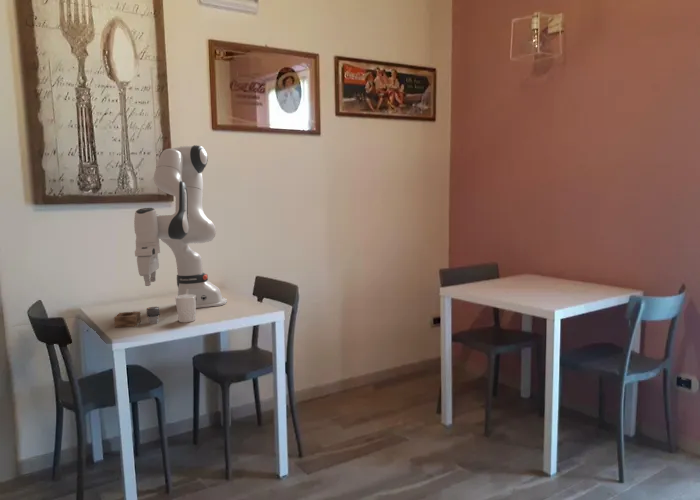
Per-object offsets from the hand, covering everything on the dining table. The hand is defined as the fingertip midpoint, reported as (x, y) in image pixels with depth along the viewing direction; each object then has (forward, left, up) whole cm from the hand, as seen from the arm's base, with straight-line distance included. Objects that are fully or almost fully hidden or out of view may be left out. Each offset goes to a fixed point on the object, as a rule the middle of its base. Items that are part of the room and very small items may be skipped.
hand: (150, 283), depth 226 cm
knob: (0, 0, -16) cm, 16 cm away
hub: (+10, 0, -16) cm, 19 cm away
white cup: (-13, 0, -16) cm, 21 cm away
